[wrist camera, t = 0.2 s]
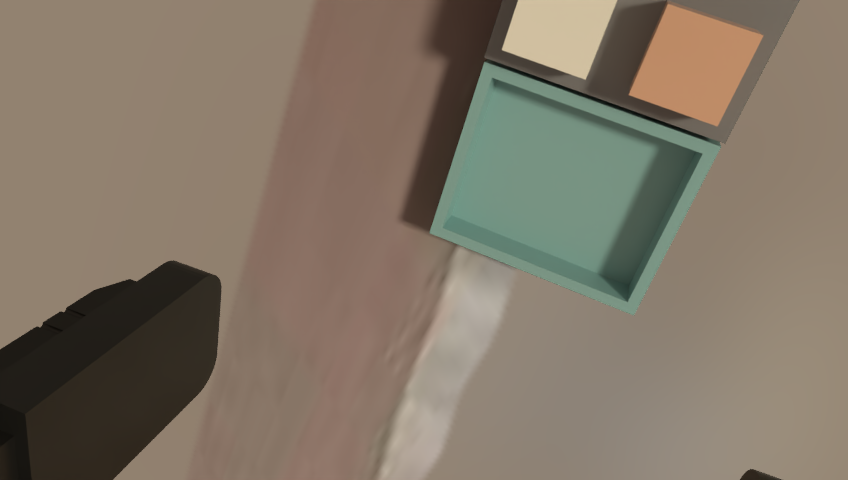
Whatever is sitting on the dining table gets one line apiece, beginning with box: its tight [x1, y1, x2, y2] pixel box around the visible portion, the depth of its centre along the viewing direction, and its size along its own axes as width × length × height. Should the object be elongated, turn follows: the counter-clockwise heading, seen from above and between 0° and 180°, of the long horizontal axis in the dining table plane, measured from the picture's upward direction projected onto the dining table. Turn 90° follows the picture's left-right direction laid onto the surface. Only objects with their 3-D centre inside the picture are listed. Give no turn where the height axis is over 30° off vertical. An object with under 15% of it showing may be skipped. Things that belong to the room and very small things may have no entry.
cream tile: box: [502, 0, 618, 80], centre depth 31 cm, size 4×4×2 cm
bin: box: [430, 59, 721, 315], centre depth 36 cm, size 10×12×2 cm
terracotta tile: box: [629, 0, 764, 127], centre depth 30 cm, size 4×4×2 cm
